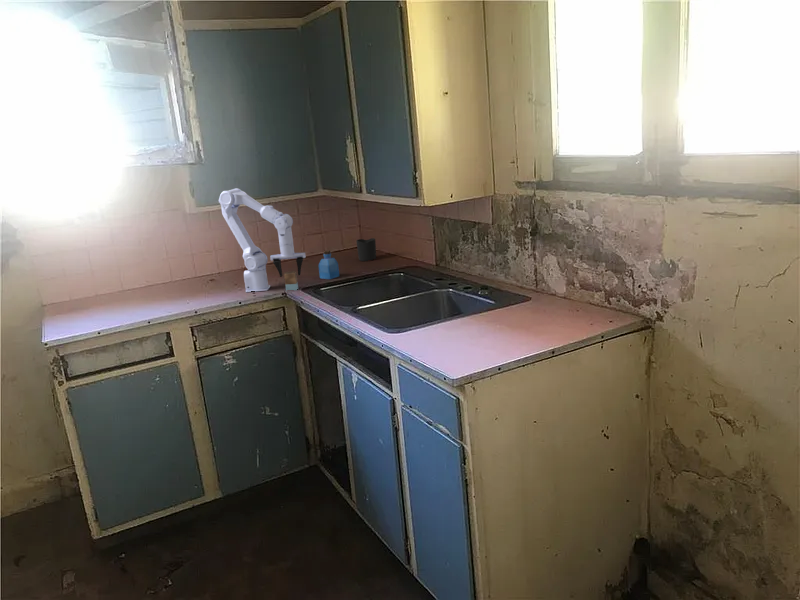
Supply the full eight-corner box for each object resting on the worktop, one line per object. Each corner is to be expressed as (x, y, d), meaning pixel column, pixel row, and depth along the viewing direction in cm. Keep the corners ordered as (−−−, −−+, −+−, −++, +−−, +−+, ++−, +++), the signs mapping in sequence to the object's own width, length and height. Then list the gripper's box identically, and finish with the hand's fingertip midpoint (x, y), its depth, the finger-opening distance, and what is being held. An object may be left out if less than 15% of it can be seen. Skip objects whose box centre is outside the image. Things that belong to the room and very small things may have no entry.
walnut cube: (285, 284, 275) (284, 274, 274) (287, 282, 280) (285, 272, 278) (296, 283, 275) (294, 273, 274) (297, 281, 279) (296, 271, 278)
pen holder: (368, 256, 333) (366, 237, 330) (380, 258, 326) (379, 238, 324) (354, 260, 326) (352, 240, 324) (367, 262, 320) (365, 242, 317)
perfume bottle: (330, 279, 291) (327, 252, 287) (320, 278, 294) (316, 252, 291) (339, 276, 295) (336, 250, 292) (329, 275, 299) (326, 249, 296)
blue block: (286, 291, 275) (285, 285, 275) (286, 289, 280) (285, 282, 279) (298, 290, 276) (297, 283, 275) (298, 287, 281) (297, 281, 280)
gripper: (304, 240, 277) (308, 272, 280) (270, 243, 277) (275, 274, 280) (302, 243, 270) (306, 275, 273) (267, 246, 270) (272, 278, 274)
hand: (290, 275), depth 276 cm, fingers open, 7 cm apart
